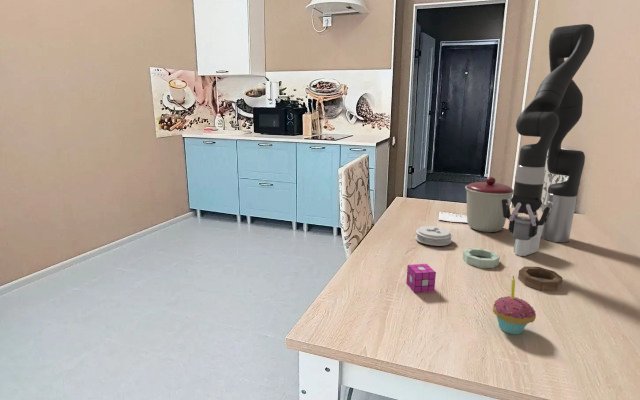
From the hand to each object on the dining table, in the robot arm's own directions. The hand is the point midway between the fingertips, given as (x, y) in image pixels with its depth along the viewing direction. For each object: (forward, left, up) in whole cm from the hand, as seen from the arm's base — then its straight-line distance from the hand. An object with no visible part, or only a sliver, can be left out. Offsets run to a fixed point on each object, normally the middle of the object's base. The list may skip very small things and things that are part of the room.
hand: (521, 234), depth 119 cm
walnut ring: (+8, +9, -10) cm, 16 cm away
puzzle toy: (+36, -12, -10) cm, 40 cm away
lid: (+1, -29, -10) cm, 31 cm away
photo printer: (-13, -2, -10) cm, 16 cm away
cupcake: (+38, +13, -10) cm, 42 cm away
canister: (-28, -23, -10) cm, 37 cm away
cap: (0, 0, -1) cm, 1 cm away
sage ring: (+6, -9, -10) cm, 15 cm away
